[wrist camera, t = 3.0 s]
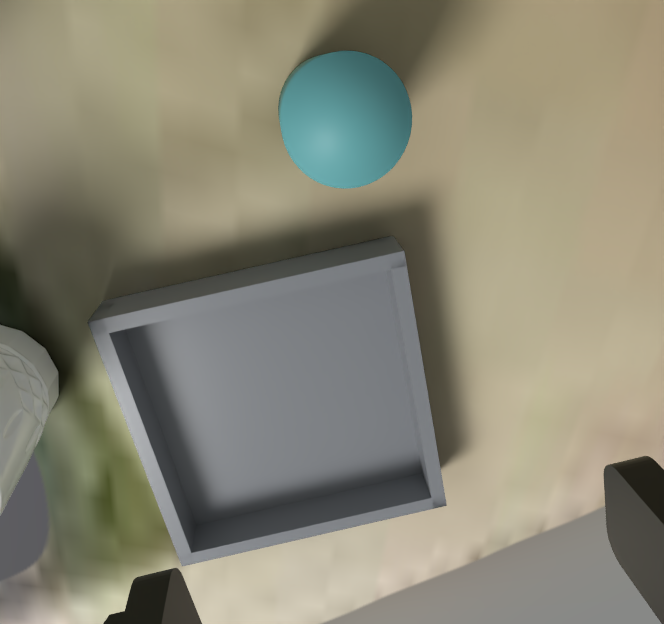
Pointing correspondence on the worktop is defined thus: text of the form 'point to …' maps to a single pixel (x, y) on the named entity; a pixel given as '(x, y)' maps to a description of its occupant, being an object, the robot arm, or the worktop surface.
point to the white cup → (22, 403)
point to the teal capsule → (344, 118)
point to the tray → (276, 399)
